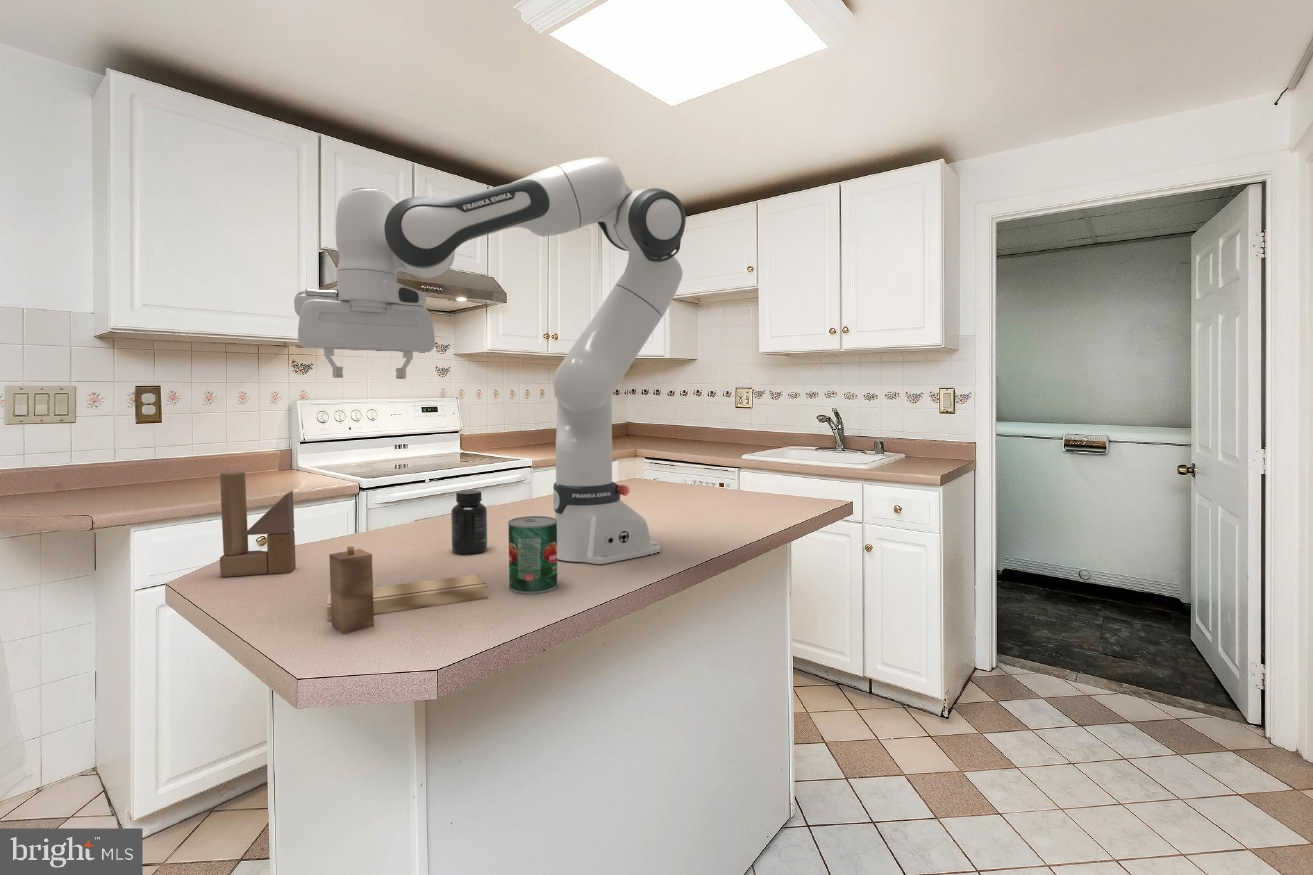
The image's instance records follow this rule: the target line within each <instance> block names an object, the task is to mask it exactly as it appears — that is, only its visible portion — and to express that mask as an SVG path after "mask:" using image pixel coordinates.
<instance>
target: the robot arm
mask: <svg viewBox="0 0 1313 875" xmlns="http://www.w3.org/2000/svg"><path fill="white" fill-rule="evenodd" d="M335 217H336V218H335V245H336V249H337V252H338V264H337V268H336V284H337V285H336V288H337V289H336V290H335V289H334V290H330V289H315V288H305V289H304V290H302V291H299V292H298V293H297V294H296V295H295V296H294V300H293V301H294V303H293V304H294V305H293V306H294V311H295V313H296V315H297V316H298V317H299V319H298V328H297V342H298V344H299V345H300V346H301V347H302V348H304V349H320V350H321V349H323V352H324V353H323V354H324V358H325V360H326V361H327V362H328V363H329V365H330V367H331V368H332V378H333V379H336V378H337V379H343V378H344V375H343V374H344V373H343V371H344V369H343V368H344V367H343V366H339V365H337V364H336V363H335V361H334V360H333V358H332V357H334V356H335V350H347V351H348V350H349V351H351V350H353V351H380V352H384V351H385V352H402V358H403V359H405V360H404V362H403V364H402V365H401V367H396V368H395V373H396V374H395V379H396V380H406V379H407V369H408V367H409V365H410V363H411V362H412V360H413V359H414V354H413V353H430V352H432V351H433V349H435V346H436V339H435V337H436V336H435V328H434V327H435V326H434V323H433V319H432V316H431V315H432V314H431V313H430V311H429V310H428V309H427V308H425V306H426V304H427V296H426V294H425V293H424V292H422V291H421V290H418V289H415V288H412V287H410V286H407V285H404V284H401V283H399V282H398V277H397V276H398V272H400V273H403V274H408V275H412V276H415V277H419V278H423V279H424V278H426V279H431V278H437V277H440V276H442V275H443V274H446V272H447V271H449V269H450V268H451V266H453V263H454V261H455V260H454V259H455V252H456V250H457V249H458V248H459V247H460V246H462V244H464V243H466V242H468V241H471V240H474V239H477V238H480V237H481V238H482V237H484V236H488V235H491V234H494V233H498V232H501V231H503V230H508V229H513V228H522V229H526V230H528V231H530V232H531V233H533V234H534V235H537V236H540V237H551V236H556V235H562V234H563V235H564V234H565V233H569V232H573V231H576V230H578V229H581V228H583V227H585V226H586V227H587V226H589V225H591V224H595V223H597V224H598V226H599V227H600V229H601V230H602V232H603V233H604V234H603V235H605V238H606V239H607V241H609V243H610V244H611V245H613V246H614V247H616V248H617V249H620V250H622V251H625V252H628V259H627V264H626V267H625V269H624V272H623V273H622V275H621V276H620V277H619V278H618V280H617V281H616V284H614V286H613V287H612V289H611V291H610V292H609V294H608V295H607V297H606V298H605V300H604V301H603V302H602V304H601V306H600V307H599V309H598V310H597V312H596V313H595V315H594V317H593V318H592V319H591V321H590V322H589V324H588V325H587V326H586V328H585V329H584V330H583V332H581V334H580V336H579V337H578V338H577V340H576V341H575V342H574V344H573V345H572V347H571V348H570V349H569V351H568V353H566V355H565V357H564V358H563V360H562V361H561V363H560V364H559V365H558V367H557V368H556V371H555V373H554V376H553V381H552V382H553V383H552V384H553V392H554V394H555V398H556V399H557V400H556V401H557V404H556V405H557V406H556V407H557V409H556V434H555V482H554V484H553V493H552V503H553V510H554V518H555V519H557V560H559V561H565V562H572V563H573V562H574V563H575V562H577V563H587V564H593V565H604V564H609V563H610V564H611V563H615V562H619V561H624V560H625V561H626V560H629V559H634V558H639V557H645V556H650V555H655V554H658V553H657V552H659V553H661V550H662V548H661V544H659V543H658V542H657V541H656V540H654V539H652V538H651V537H650V531H649V526H648V523H647V521H646V519H645V518H644V517H643V516H642V515H640V514H639V513H638V512H637V511H635V510H634V509H633V508H632V507H630V506H629V505H627V504H626V503H625V502H624V501H623V500H621V495H622V496H625V497H626V496H628V495H629V494H630V491H631V489H630V487H629V486H628V485H625V484H618V483H616V482H614V481H613V431H612V430H613V429H612V428H613V423H612V422H613V419H612V417H613V416H612V415H613V414H612V413H613V411H612V410H613V409H612V406H613V404H612V395H613V393H614V392H615V390H616V389H617V387H618V386H619V385H620V383H621V381H622V380H623V378H624V377H625V374H626V373H628V371H629V369H630V367H631V365H632V364H633V363H634V361H635V359H636V358H637V356H638V355H639V353H640V351H641V350H642V348H643V347H644V346H645V344H646V342H647V341H648V340H649V339H650V337H651V335H652V334H653V332H654V330H655V329H656V327H657V326H658V324H659V323H660V321H661V320H662V318H664V315H665V314H666V312H667V310H668V308H669V307H670V305H671V303H672V301H673V299H674V297H675V295H676V294H677V291H678V288H679V286H680V284H681V282H682V279H683V268H682V266H681V264H680V262H679V260H678V259H677V257H675V256H676V255H677V254H678V253H679V251H680V249H681V242H682V238H683V236H684V233H685V232H684V231H685V228H686V224H687V222H686V220H687V219H686V218H687V216H686V211H685V207H684V204H683V202H682V201H681V200H680V199H679V197H678V196H676V195H675V194H673V193H672V192H670V191H668V190H666V189H662V188H656V187H654V188H652V187H651V188H648V189H647V188H646V189H643V188H642V189H635V190H633V189H631V188H630V187H629V186H628V184H627V183H626V181H625V176H624V174H623V172H622V171H621V168H620V167H619V165H617V163H616V162H615V161H614V160H613V159H611V158H609V157H605V156H594V157H587V158H580V159H574V160H569V161H566V162H562V163H560V164H559V163H558V164H556V165H552V166H549V167H547V168H544V169H542V170H539V171H535V172H534V173H532V174H529V175H527V176H525V177H523V178H520V179H518V180H515V181H512V182H510V183H507V184H502V185H498V186H495V187H494V186H493V187H491V188H487V189H483V190H480V191H477V192H473V193H469V194H465V195H461V196H457V197H453V198H433V197H425V196H423V197H422V196H413V197H407V198H405V199H402V200H401V201H399V200H397V199H395V198H394V197H393V196H392V195H391V194H390V193H389V192H388V191H386V190H384V189H381V188H380V189H379V188H375V187H360V188H355V189H351V190H349V191H347V192H345V193H343V195H342V196H340V198H339V200H338V204H337V209H336V216H335ZM674 251H675V252H674ZM673 252H674V253H673ZM654 553H655V554H654ZM649 554H650V555H649Z"/></svg>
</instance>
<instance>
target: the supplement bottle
mask: <svg viewBox="0 0 1313 875" xmlns="http://www.w3.org/2000/svg"><path fill="white" fill-rule="evenodd" d="M455 495H456V496H455V498H456V499H455V501H456V503H457V504H456V505H454V506H453V507H452V509H451V512H450V513H451V515H450V516H451V519H450V520H451V522H450V523H451V551H452V552H453V553H454V554H456V555H461V556H470V555H471V556H473V555H479V554H482V553H484V552H485V551H487V549H488V510H487V506H485V505H484V504H483V503H481V502H482V499H483V498H482V491H480V490H473V489H472V490H467V489H466V490H459V491H457V492H456V494H455Z"/></svg>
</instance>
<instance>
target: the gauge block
mask: <svg viewBox="0 0 1313 875" xmlns="http://www.w3.org/2000/svg"><path fill="white" fill-rule="evenodd" d="M328 558H329V578H330V579H329V580H330V581H329V582H330V583H329V586H330V593H331V619H332V621H331V627H332V628H333V629H335V630H336V631H338V632H339V633H341V634H342V635H346V634H350V633H353V632H357V631H360V630H363V629H368V628H371V627H374V626H375V621H374V620H375V619H374V618H375V617H374V615H375V614H374V609H373V588H374V586H373V585H374V581H373V579H374V578H373V575H374V574H373V554H372V553H370V552H368V551H366V550H364V549H361V548H358V549H355V546H353V545H349V546H347V547H346V551H340V552H336V553H330V554H329V557H328Z"/></svg>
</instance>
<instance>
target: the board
mask: <svg viewBox="0 0 1313 875" xmlns="http://www.w3.org/2000/svg"><path fill="white" fill-rule="evenodd" d="M488 586H489V585H488V584H487V582H486V581H485V580H484V579H483V577H481V575H480V574H471V575H462V576H456V577H449V578H448V577H447V578H439V579H431V580H425V581H417V582H409V583H399V584H393V585H385V586H376V587H373V609H374V615H379V614H386V613H393V612H394V613H395V612H400V611H405V610H406V611H407V610H408V611H409V610H412V609H420V608H427V607H435V606H440V605H448V604H454V603H455V604H456V603H461V602H468V601H469V602H470V601H474V600H482V599H488V597H489V596H488V595H489V594H488V592H489V591H488ZM326 609H327V610H326V611H327V614H326V615H327V622H332V619H331V592H330V593H327V607H326Z"/></svg>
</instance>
